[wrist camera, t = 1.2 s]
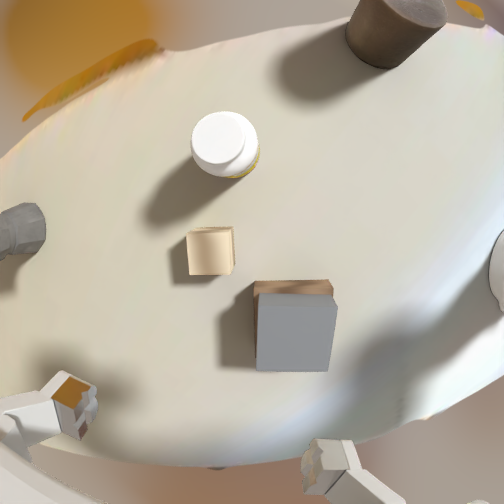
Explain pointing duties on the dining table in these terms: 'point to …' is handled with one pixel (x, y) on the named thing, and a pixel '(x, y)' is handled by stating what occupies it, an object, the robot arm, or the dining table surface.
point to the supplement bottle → (225, 145)
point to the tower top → (295, 332)
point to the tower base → (288, 292)
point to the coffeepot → (21, 230)
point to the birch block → (211, 251)
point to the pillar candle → (393, 29)
